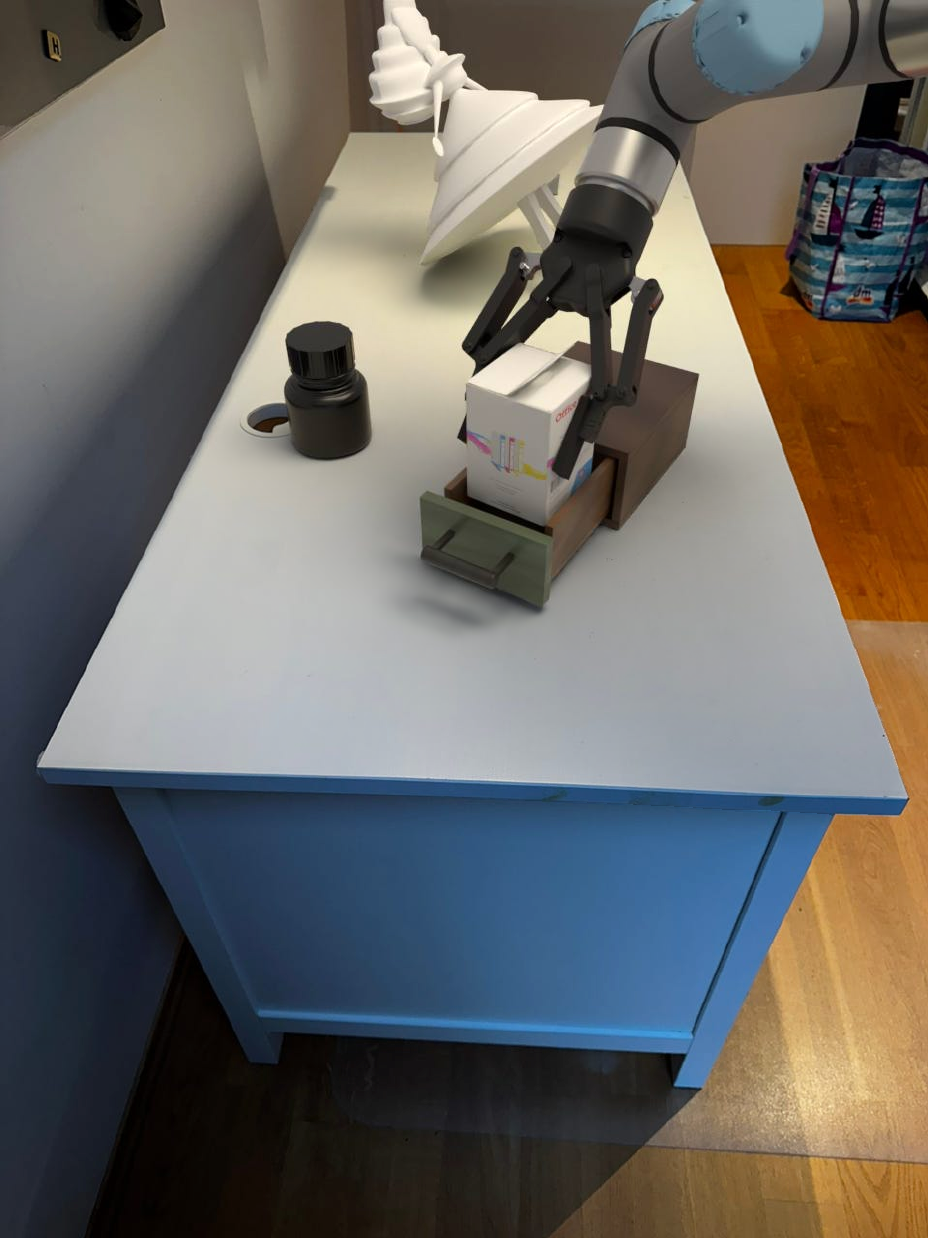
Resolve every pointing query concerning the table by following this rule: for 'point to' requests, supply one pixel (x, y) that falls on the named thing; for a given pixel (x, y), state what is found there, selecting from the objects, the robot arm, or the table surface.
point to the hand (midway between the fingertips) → (512, 458)
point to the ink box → (524, 431)
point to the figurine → (475, 135)
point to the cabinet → (643, 429)
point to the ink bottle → (326, 391)
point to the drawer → (512, 534)
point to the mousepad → (554, 185)
